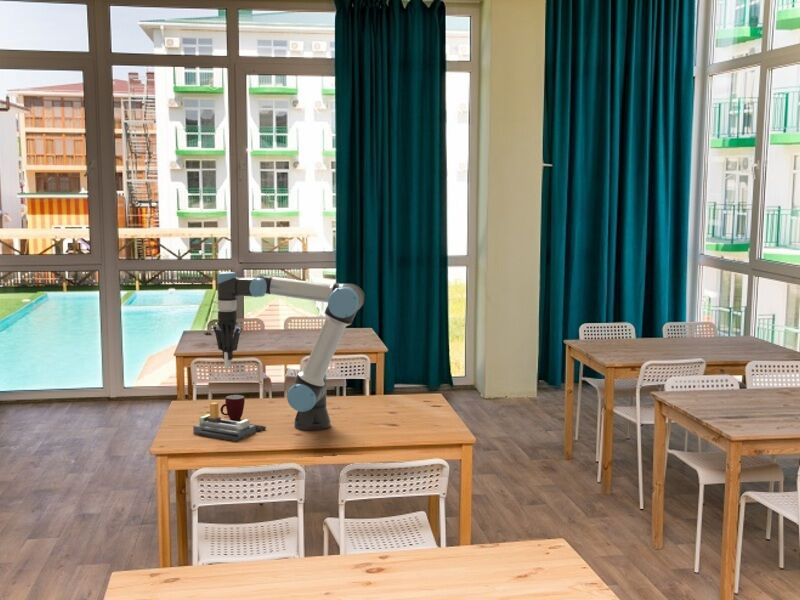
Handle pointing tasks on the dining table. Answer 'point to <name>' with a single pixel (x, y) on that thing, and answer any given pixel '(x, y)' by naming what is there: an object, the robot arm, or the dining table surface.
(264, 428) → the cord
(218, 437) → the cord
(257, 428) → the grey rod
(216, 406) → the lever
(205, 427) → the gray slotted base
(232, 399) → the mug
